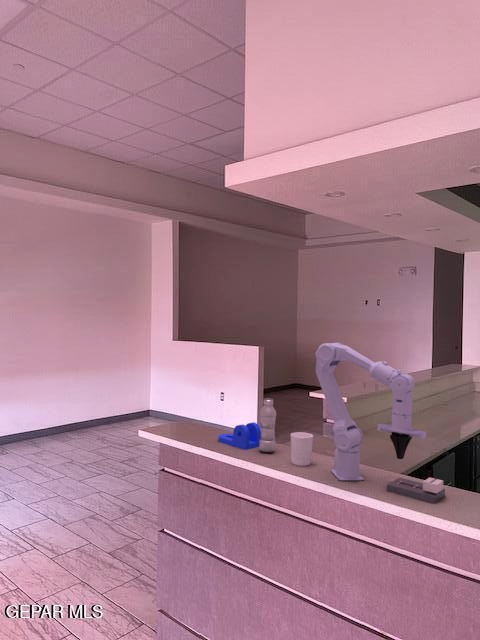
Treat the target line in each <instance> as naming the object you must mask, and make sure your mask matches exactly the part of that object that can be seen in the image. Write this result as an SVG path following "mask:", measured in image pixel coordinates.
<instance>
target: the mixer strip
mask: <svg viewBox="0 0 480 640" xmlns="http://www.w3.org/2000/svg"><path fill="white" fill-rule="evenodd" d="M386 491H387V492H389V493H393V494H396V495H401V496H403V497H408V498H411V499H415V500H419V501H422V502H426V503H429V504H436V503H437V502H439V501H440V500H441V499H442V498H443V497H445V496H446V488H444V487H443V490H441V491H440V492H438V493H433V492H429V491H425V490H423V482H420V481H419V482H418V481H416V480H411V479H407V478H403V477H398V478H395V479H394V480H392V481H390V482H389V483H386Z"/></svg>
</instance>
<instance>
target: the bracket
mask: <svg viewBox="0 0 480 640" xmlns="http://www.w3.org/2000/svg"><path fill="white" fill-rule="evenodd" d="M260 433H261V426H260V425H259V424H258V423H256V422H249V423H247V424H246V425H245V424H239V425H236V426H235V427H234V429H233V432H232V433H221V434H219V435H218V442H219V443H221V444H225V445H227V446H230V447H234V448H237V449H240V450H245V451H246V450H251V449H255V448H259V440H260Z"/></svg>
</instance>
